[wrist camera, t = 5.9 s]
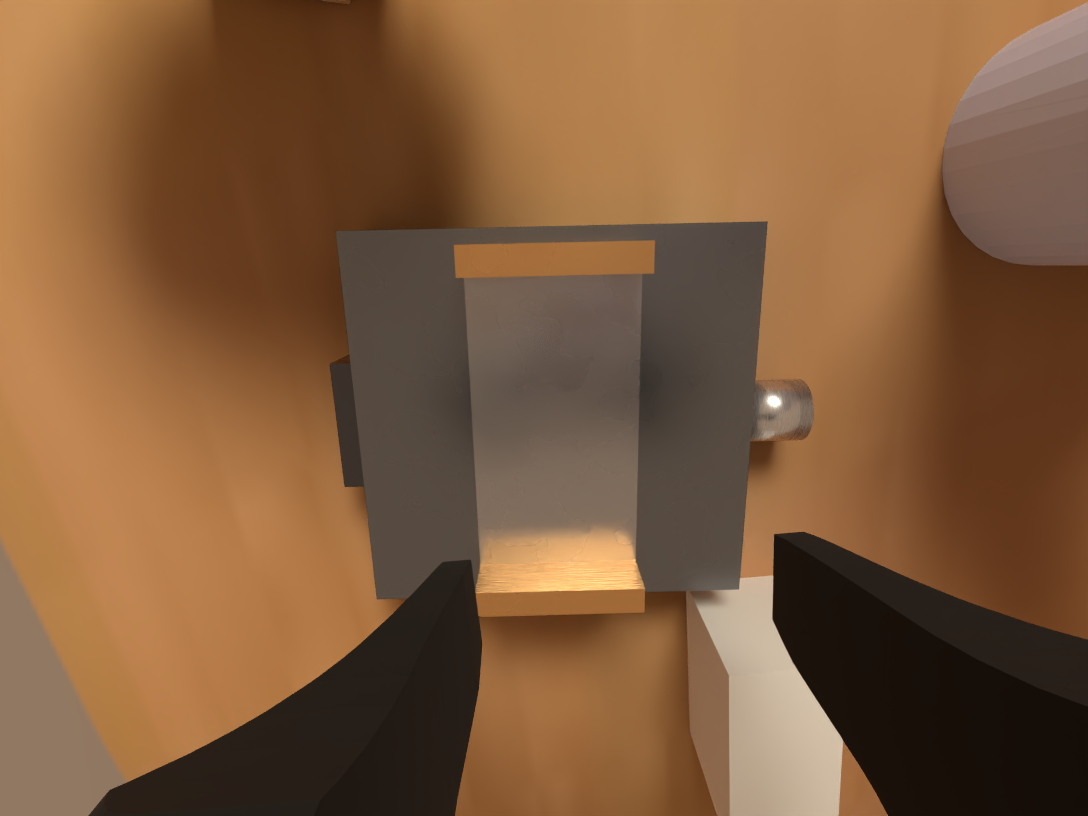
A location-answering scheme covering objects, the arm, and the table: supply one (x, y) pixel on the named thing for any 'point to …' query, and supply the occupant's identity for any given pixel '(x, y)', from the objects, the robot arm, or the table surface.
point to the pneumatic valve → (338, 1)
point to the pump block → (756, 710)
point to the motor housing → (557, 407)
